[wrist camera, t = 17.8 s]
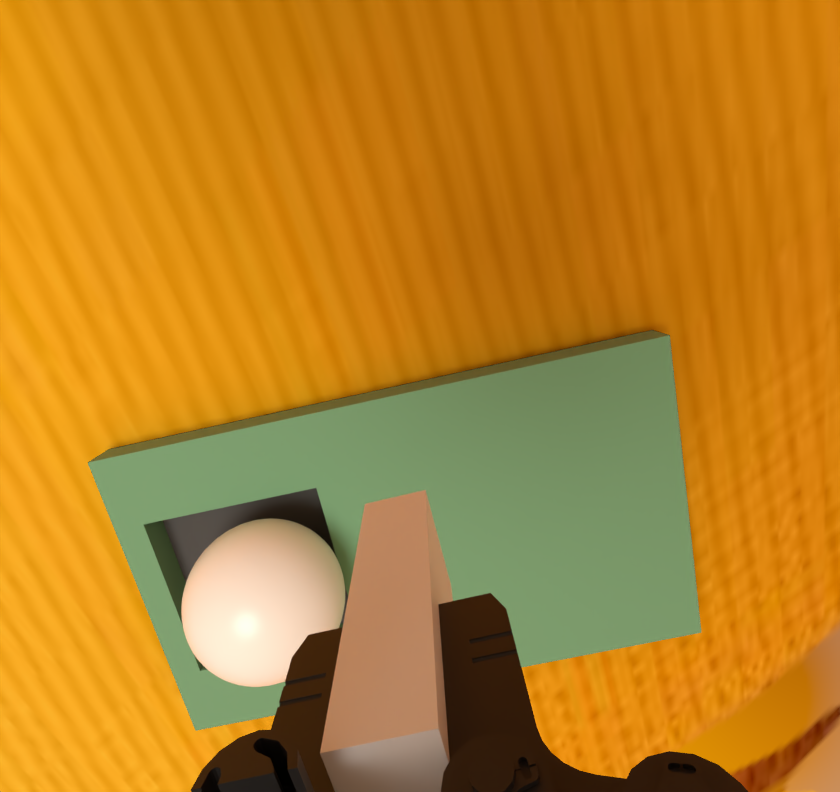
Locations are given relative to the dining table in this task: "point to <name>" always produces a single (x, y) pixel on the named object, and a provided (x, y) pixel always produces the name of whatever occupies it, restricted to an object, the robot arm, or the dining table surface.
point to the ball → (260, 599)
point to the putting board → (443, 500)
